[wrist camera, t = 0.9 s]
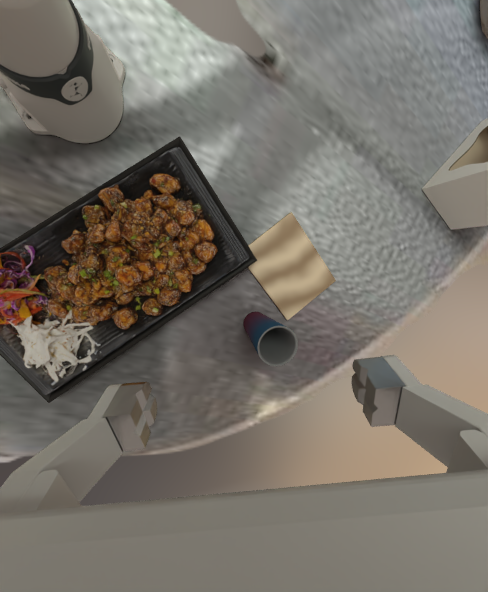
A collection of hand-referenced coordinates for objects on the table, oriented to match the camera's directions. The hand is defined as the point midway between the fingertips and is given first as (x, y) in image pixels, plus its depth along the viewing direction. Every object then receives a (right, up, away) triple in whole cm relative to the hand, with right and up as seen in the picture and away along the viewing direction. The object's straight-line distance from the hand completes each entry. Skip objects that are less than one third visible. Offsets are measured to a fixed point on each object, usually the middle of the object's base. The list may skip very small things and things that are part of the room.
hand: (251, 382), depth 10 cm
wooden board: (+9, +10, +45) cm, 47 cm away
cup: (+2, -2, +45) cm, 46 cm away
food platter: (-24, +8, +38) cm, 45 cm away
